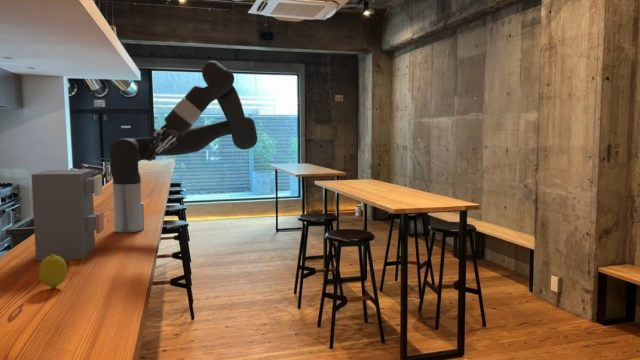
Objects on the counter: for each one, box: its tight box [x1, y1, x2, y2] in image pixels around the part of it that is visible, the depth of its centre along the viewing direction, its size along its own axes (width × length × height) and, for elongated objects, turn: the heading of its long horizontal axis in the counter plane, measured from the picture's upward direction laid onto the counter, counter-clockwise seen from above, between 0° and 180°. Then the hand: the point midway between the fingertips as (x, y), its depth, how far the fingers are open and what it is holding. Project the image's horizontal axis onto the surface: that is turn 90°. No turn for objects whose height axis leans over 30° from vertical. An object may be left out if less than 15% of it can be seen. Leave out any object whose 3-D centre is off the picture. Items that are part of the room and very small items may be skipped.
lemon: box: [38, 254, 68, 289], centre depth 105 cm, size 6×6×8 cm
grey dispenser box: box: [31, 169, 96, 262], centre depth 134 cm, size 12×14×24 cm
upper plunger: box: [85, 174, 103, 197], centre depth 134 cm, size 9×6×6 cm, turn 104°
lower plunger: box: [86, 211, 105, 234], centre depth 136 cm, size 9×6×6 cm, turn 104°
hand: (146, 159), depth 142 cm, fingers closed
